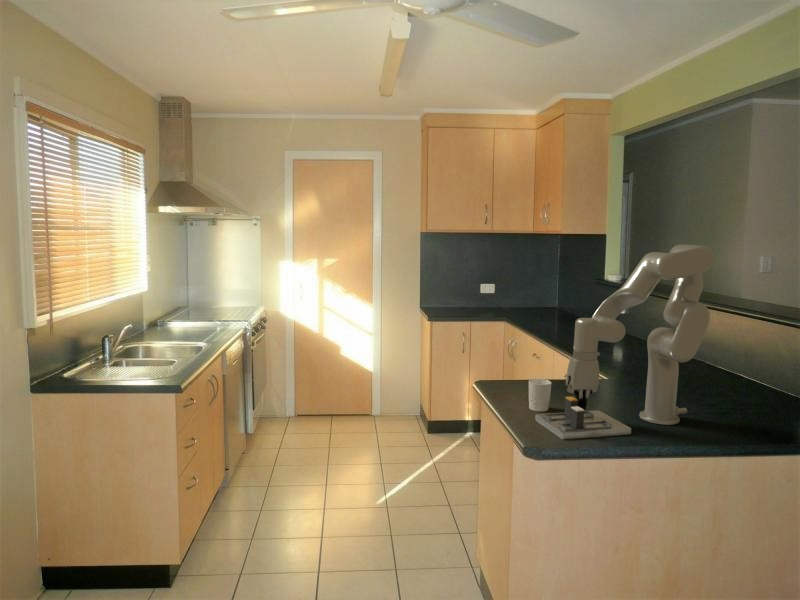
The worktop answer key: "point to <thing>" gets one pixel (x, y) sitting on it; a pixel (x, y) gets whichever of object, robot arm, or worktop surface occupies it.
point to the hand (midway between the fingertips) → (580, 409)
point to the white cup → (539, 394)
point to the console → (592, 425)
